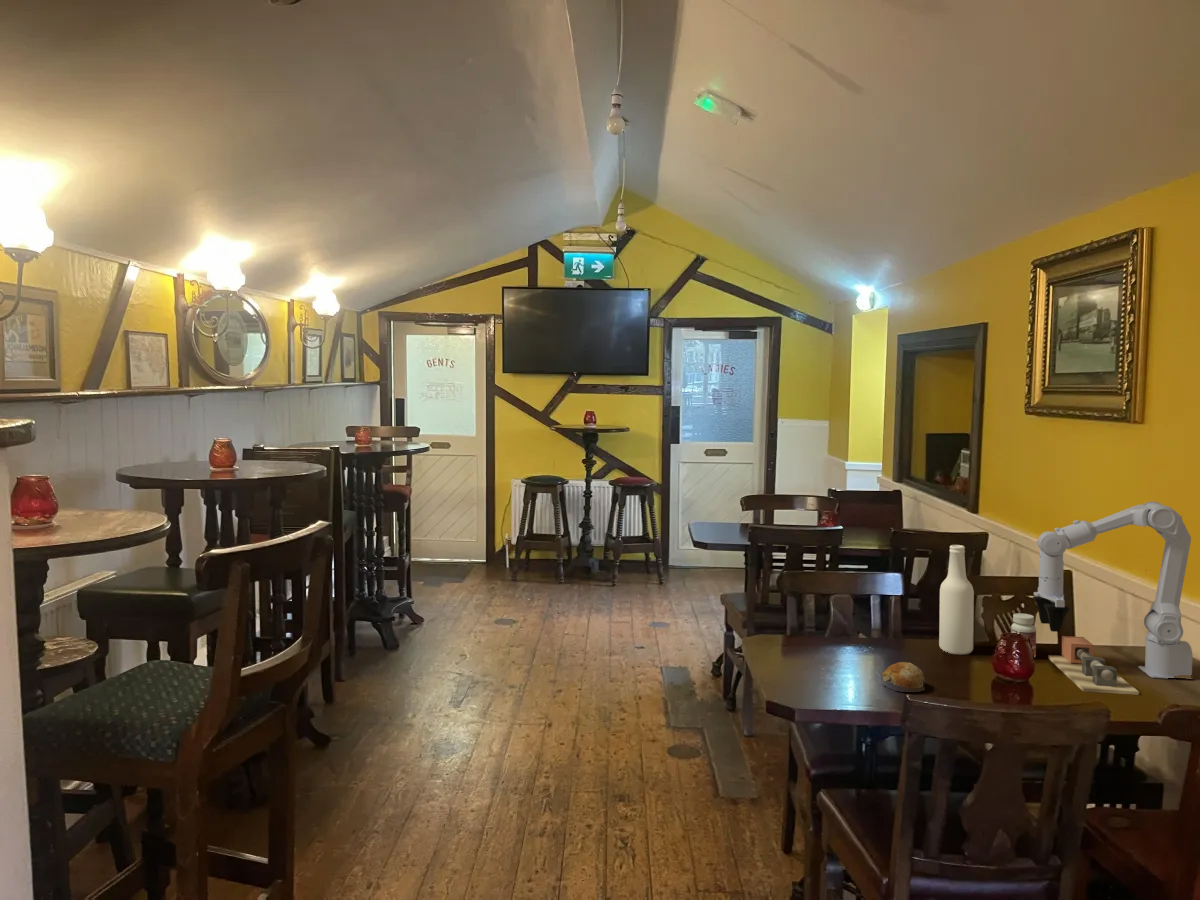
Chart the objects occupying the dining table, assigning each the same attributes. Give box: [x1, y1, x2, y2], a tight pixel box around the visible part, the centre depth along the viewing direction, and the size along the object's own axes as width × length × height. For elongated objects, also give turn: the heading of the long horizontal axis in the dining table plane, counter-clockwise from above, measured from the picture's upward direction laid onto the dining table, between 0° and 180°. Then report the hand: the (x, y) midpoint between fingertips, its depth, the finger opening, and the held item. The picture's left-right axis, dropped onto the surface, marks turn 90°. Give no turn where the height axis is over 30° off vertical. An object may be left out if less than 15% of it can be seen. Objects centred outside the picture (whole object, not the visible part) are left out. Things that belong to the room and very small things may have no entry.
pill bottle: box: [1010, 612, 1037, 658], centre depth 222 cm, size 6×6×11 cm
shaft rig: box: [1047, 647, 1140, 696], centre depth 206 cm, size 26×12×5 cm, turn 168°
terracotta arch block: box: [1061, 635, 1094, 663], centre depth 215 cm, size 7×5×5 cm
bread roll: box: [881, 661, 926, 688], centre depth 200 cm, size 10×10×8 cm
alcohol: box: [938, 544, 975, 656], centre depth 227 cm, size 9×9×30 cm
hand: (1050, 627), depth 214 cm, fingers open, 7 cm apart
